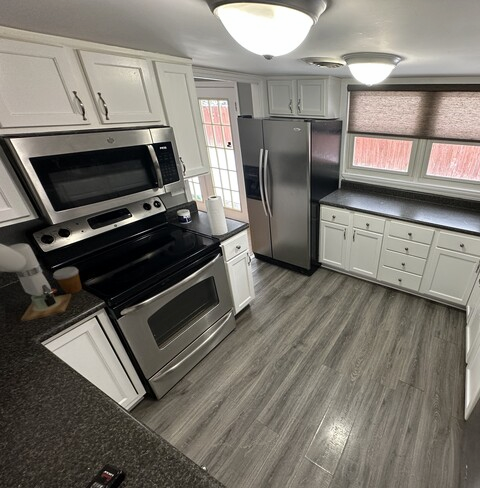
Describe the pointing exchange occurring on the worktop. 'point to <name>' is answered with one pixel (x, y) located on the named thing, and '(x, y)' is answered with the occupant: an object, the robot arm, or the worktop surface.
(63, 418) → the worktop surface
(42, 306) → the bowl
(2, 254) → the robot arm
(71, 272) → the disposable coffee cup
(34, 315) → the base
